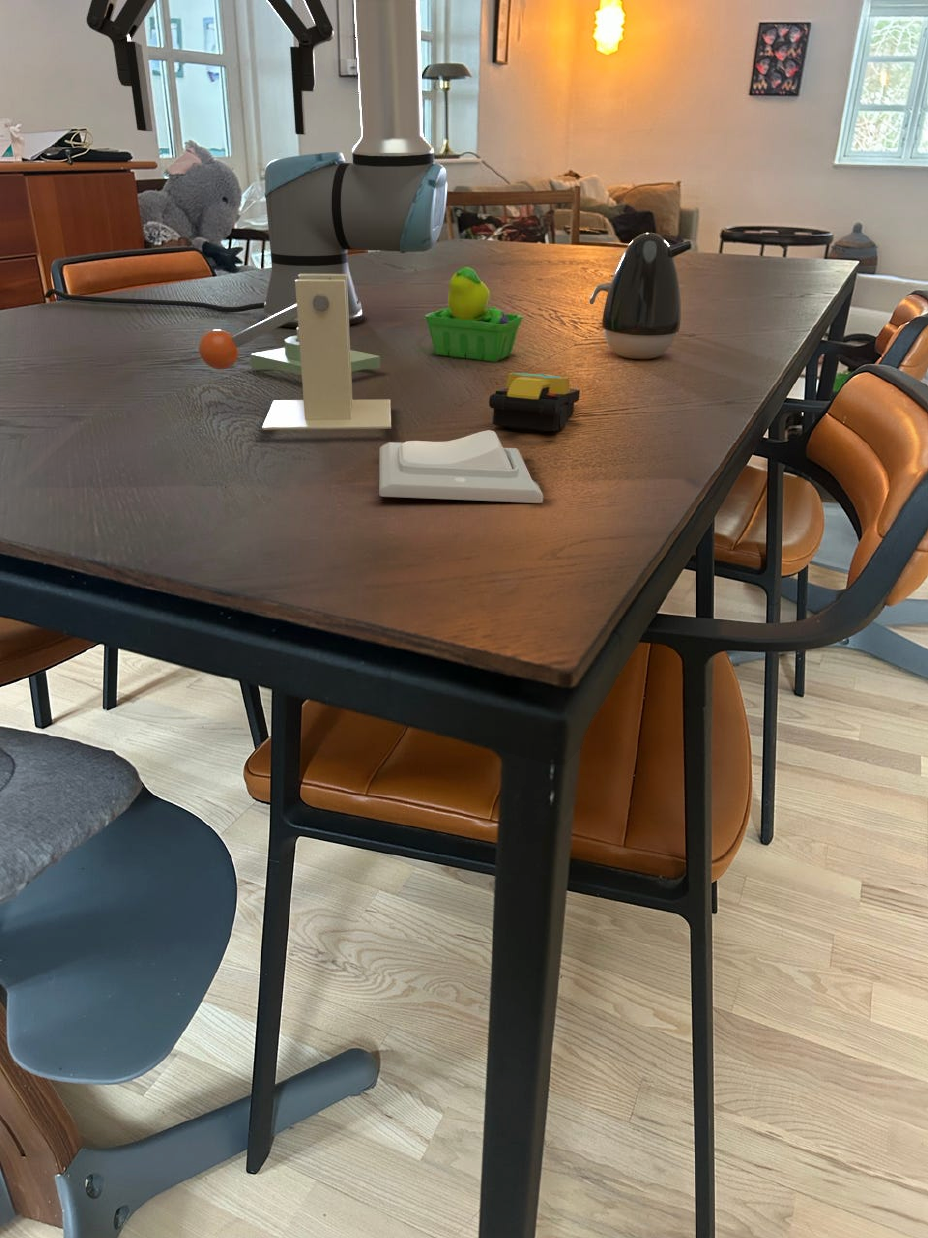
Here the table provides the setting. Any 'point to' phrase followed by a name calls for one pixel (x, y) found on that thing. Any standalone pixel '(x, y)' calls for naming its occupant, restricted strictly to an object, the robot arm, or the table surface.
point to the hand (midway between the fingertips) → (223, 132)
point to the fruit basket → (472, 322)
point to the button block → (291, 360)
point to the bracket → (325, 365)
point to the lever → (238, 339)
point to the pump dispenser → (644, 299)
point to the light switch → (456, 470)
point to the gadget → (534, 402)
